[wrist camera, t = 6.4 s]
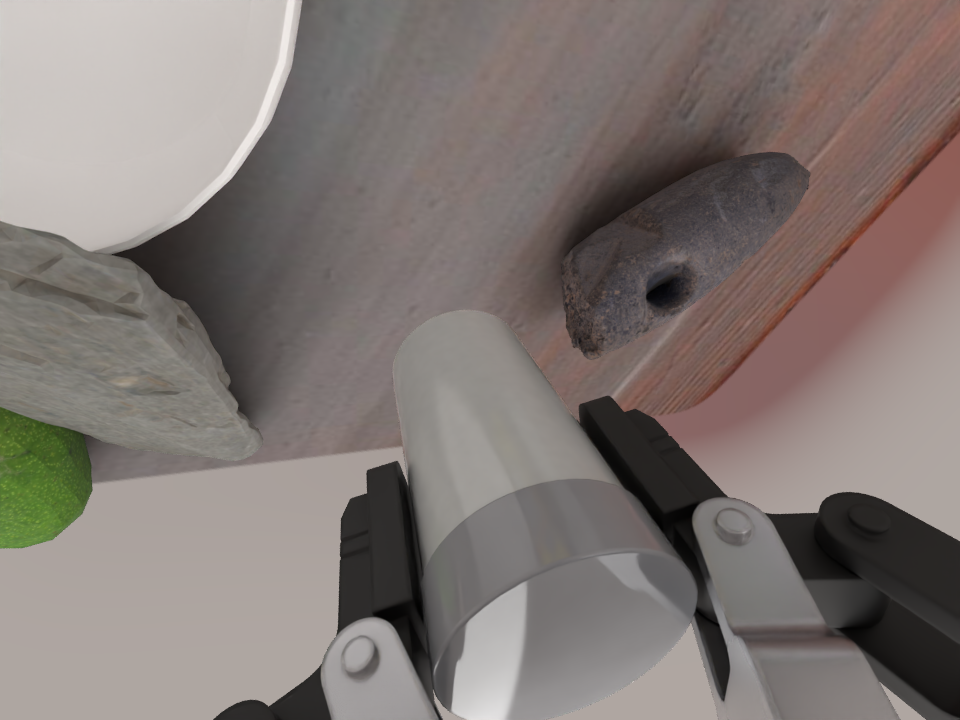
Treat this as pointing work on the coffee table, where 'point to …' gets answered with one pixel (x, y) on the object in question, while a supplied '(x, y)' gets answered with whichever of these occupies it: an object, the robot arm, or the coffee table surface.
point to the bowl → (132, 109)
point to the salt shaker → (524, 534)
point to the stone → (110, 353)
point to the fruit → (40, 479)
